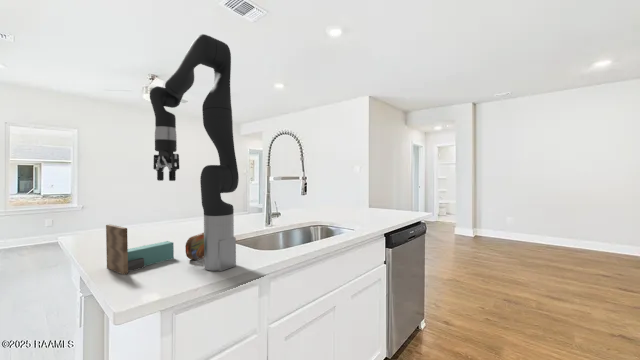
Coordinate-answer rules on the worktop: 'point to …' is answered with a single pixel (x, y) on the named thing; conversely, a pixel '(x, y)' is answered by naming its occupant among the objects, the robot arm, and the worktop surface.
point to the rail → (152, 252)
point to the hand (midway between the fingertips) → (166, 180)
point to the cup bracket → (119, 251)
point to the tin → (195, 247)
